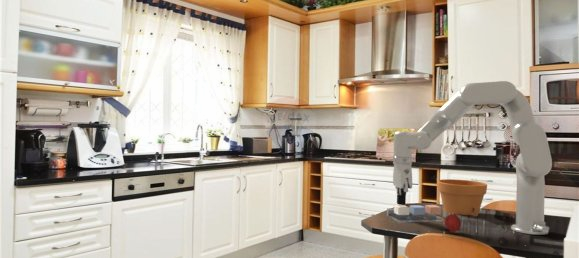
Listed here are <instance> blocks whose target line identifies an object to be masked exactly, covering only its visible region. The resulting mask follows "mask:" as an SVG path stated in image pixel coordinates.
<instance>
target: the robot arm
mask: <svg viewBox="0 0 579 258" xmlns="http://www.w3.org/2000/svg"><path fill="white" fill-rule="evenodd" d="M475 105H476V106H478V105H501V106H502V108H504V109H505V112H506V114H507V117H508V120H509V124H510V125H509V126H510V131H511V137H512V140H513V142H514V143H515V144H516V145H517V146H518V147H519V150H520V153H519V154H518V155H517V157H516V160H515V171H516V192H515V193H516V200H515V201H516V202H515V206H516V207H515V224H512V225H511V230H513V231H514V232H517V233H521V234H527V235H538V236H539V235H540V236H541V235H548V234H549V230H550V227H549V226H547V225H546V221H545V197H546V195H545V192H546V189H545V188H546V183H545V182H546V181H545V176H546V175H547V174H549V173H550V171H551V170H552V167H553V160H552V155H551V151H550V145H549V141H548V138H547V137H548V136H547V134H546V131H545V129H544V128H543V127H542V126H541V125H540V124H538V123H536V121H535V118H534V113H533V110H532V107H531V103H530V101H529V100H528V98H527V97H526V96H525V95H524V94H523V92H521V91H520V90H518V89H517V87H516V86H515V85H514V84H513V83H512V82H511V81H508V80H504V81H503V80H502V81H501V80H498V81H487V82H486V81H485V82H471V83H466V84H464V86H462V87H461V88H460V89H459V90H458V91H457V92H456V93H455V94H453V96H452V97H450V98H449V99H448V100H447V102H445V103H444V104H443V105H442V106H441V107H440V108H439V109H438V110H437V111H436V113H434V115H433V116H432V117H431V118H430V119H429V120H428V121H427V122H426V123H425V124H424V125H423V126H421V128H419V130H418V131H415V132H411V131H400V130H399V131H395V132H394V134H393V153H392V154H393V156H392V158H393V159H392V160H393V161H392V164H393V170H392V171H393V173H392V174H393V175H392V185H393V186H394V187H395V189H396V204H397V205H398V206H402V205H405V206H406V202H407V198H406V197H407V193H408V192H409V190H410V189H413V170H412V164H413V162H412V161H413V160H412V157H413V156H412V154H413V149H414V150H419V151H425V150H427V149H429V148H430V147H431V145H432V143H433V142H434V141H435V140H436V139H437V138H438V137H439V136H440V135H442V134H443V133H444V132H445V131H447V130H448V129H450V128H451V127H453V126H454V125H455V124H456V123H458V122H459V121H460V120H461V119H462V118H463V117H464V116H465V115H466V114H467V113H468V112H469V111H471V109H473V107H474V106H475Z"/></svg>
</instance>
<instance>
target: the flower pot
mask: <svg viewBox="0 0 579 258" xmlns="http://www.w3.org/2000/svg"><path fill="white" fill-rule="evenodd" d="M437 190H438V192H439V194H440V197H441V204H442V208H443V211H444V212H445V213H449V214H451V212H454V213H455V215H459V216H460V215H461V216H462V215H464V216H471V217H475V218H476V217H477V216H479V213H480V210H481V206H482V204H483V200H484V196H485V195H487V190H488V184H487V183H485V182H482V181H477V180H469V179H468V180H467V179H453V178H452V179H451V178H447V179H439V180H437Z"/></svg>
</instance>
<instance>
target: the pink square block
mask: <svg viewBox="0 0 579 258" xmlns="http://www.w3.org/2000/svg"><path fill="white" fill-rule="evenodd" d="M424 207H425V212H426V213H428V214H430V215H431V214H436V215H441V214H442V207H441V206H438V205H436V204H428V205H427V204H425V205H424Z"/></svg>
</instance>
